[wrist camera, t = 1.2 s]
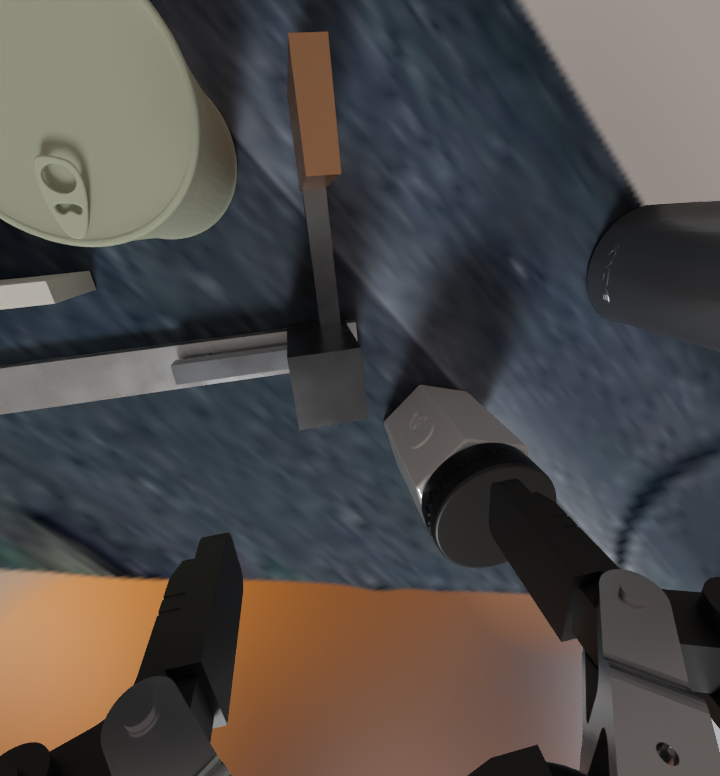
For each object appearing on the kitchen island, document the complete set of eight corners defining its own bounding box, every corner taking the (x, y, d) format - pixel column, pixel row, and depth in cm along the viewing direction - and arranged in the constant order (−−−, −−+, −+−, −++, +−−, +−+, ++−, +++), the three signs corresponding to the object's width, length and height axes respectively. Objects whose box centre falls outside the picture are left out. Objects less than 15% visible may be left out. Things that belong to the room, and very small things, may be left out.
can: (86, 231, 24) (-78, 237, 13) (57, 47, 21) (-200, -152, 10) (239, 245, 26) (205, 260, 15) (235, 78, 22) (188, -60, 12)
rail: (353, 319, 29) (355, 322, 28) (357, 358, 30) (359, 362, 30) (-23, 367, 26) (-34, 373, 25) (-1, 409, 27) (-11, 416, 26)
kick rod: (317, 93, 23) (333, 31, 15) (347, 371, 30) (367, 418, 22) (101, 105, 21) (3, 41, 14) (187, 395, 28) (153, 453, 21)
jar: (435, 362, 32) (513, 433, 21) (493, 416, 35) (586, 501, 24) (363, 437, 33) (401, 539, 23) (424, 482, 37) (483, 590, 26)
